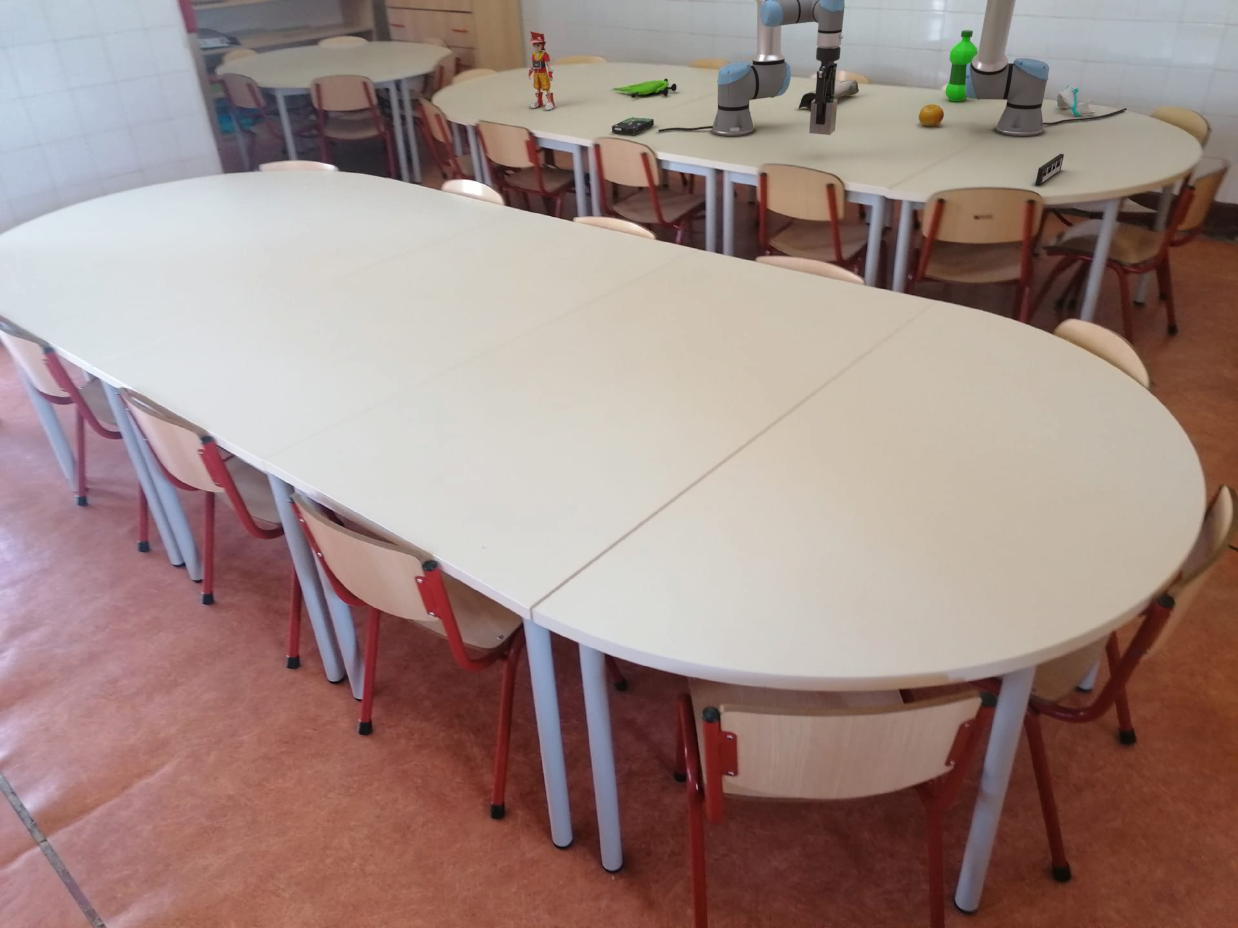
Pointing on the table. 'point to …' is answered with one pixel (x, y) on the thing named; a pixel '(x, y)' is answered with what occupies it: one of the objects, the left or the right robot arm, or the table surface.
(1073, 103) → the anatomical model
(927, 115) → the fruit
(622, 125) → the disk drive
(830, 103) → the brick
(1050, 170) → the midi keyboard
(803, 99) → the rolled mat
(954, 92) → the plastic bottle
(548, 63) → the toy
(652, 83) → the toy
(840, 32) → the left robot arm
